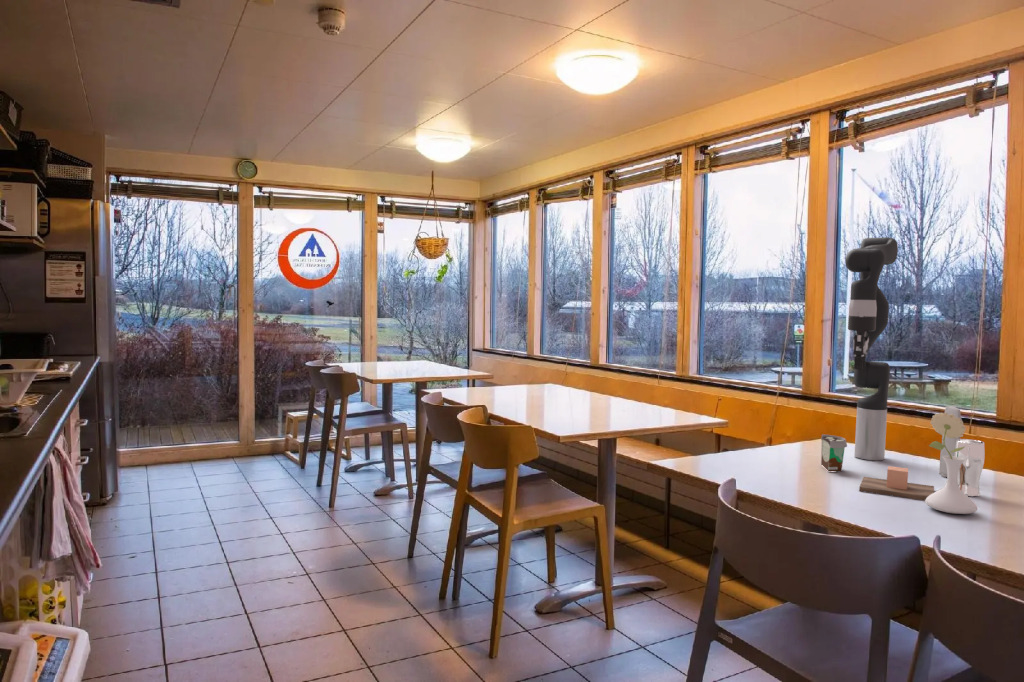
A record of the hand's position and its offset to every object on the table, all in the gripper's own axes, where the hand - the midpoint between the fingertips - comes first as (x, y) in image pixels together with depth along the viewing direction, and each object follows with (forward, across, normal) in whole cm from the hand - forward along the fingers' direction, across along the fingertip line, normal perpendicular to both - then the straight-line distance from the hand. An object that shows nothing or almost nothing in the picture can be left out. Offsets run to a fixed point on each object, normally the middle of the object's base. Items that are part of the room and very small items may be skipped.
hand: (859, 368), depth 212 cm
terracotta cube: (+32, +12, +12) cm, 36 cm away
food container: (+33, -6, -6) cm, 34 cm away
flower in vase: (+33, +26, +24) cm, 49 cm away
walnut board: (+33, +12, +12) cm, 37 cm away
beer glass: (+33, +4, +29) cm, 44 cm away
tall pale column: (+33, -17, +25) cm, 45 cm away
